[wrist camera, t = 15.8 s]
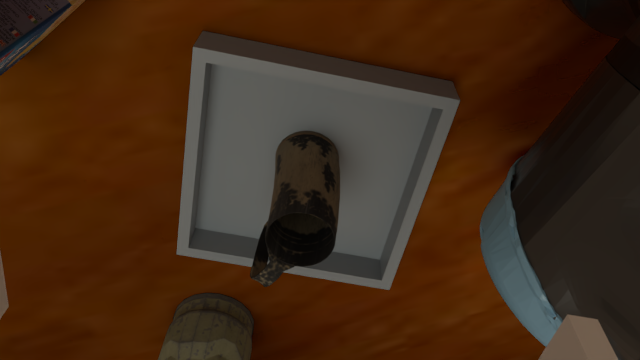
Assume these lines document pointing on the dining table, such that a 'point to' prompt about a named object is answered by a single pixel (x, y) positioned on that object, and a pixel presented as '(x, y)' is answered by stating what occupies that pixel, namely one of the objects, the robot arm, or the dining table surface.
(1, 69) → the beverage box
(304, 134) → the mug
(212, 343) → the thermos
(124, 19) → the dining table surface
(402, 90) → the box
